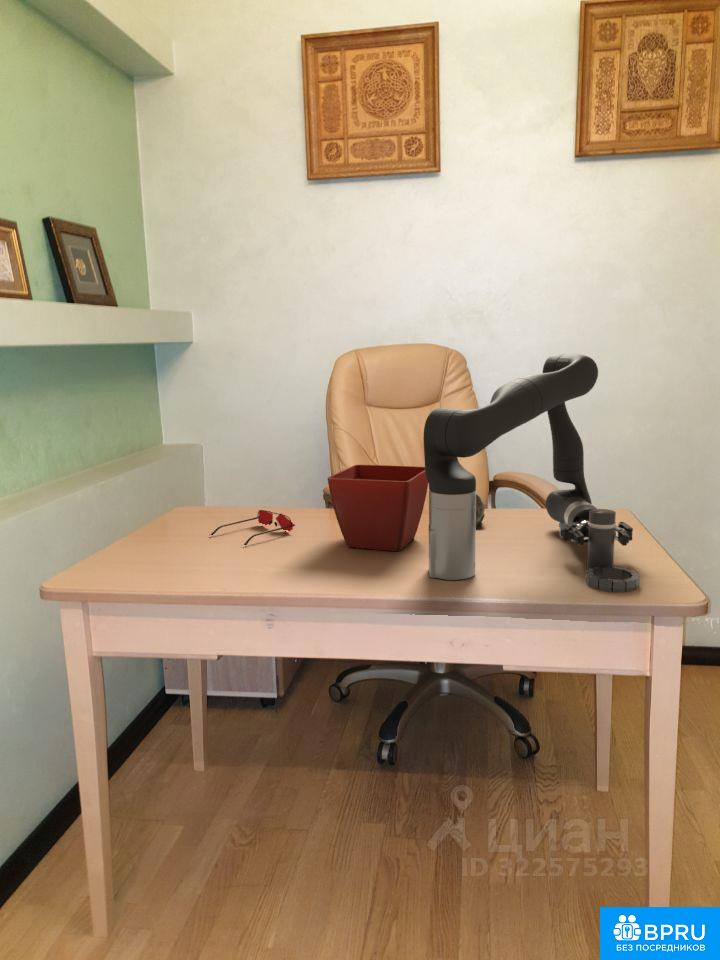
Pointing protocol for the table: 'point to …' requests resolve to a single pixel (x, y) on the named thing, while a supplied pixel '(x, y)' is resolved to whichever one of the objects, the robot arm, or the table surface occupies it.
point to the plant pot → (378, 504)
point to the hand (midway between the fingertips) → (603, 540)
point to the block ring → (598, 581)
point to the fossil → (479, 510)
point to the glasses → (267, 522)
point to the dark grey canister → (601, 538)
